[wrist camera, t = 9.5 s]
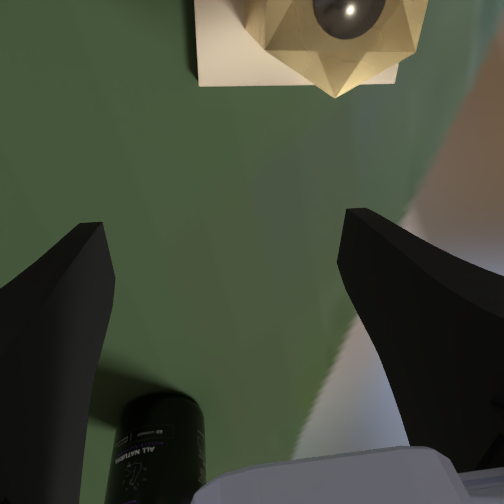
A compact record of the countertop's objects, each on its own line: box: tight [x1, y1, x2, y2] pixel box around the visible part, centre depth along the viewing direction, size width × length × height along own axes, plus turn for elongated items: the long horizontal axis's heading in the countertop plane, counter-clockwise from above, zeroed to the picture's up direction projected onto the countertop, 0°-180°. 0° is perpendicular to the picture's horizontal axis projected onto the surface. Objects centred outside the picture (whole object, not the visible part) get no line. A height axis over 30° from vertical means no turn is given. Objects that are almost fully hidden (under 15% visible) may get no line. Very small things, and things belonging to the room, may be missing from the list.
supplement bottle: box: [104, 394, 206, 504], centre depth 28 cm, size 7×7×12 cm
